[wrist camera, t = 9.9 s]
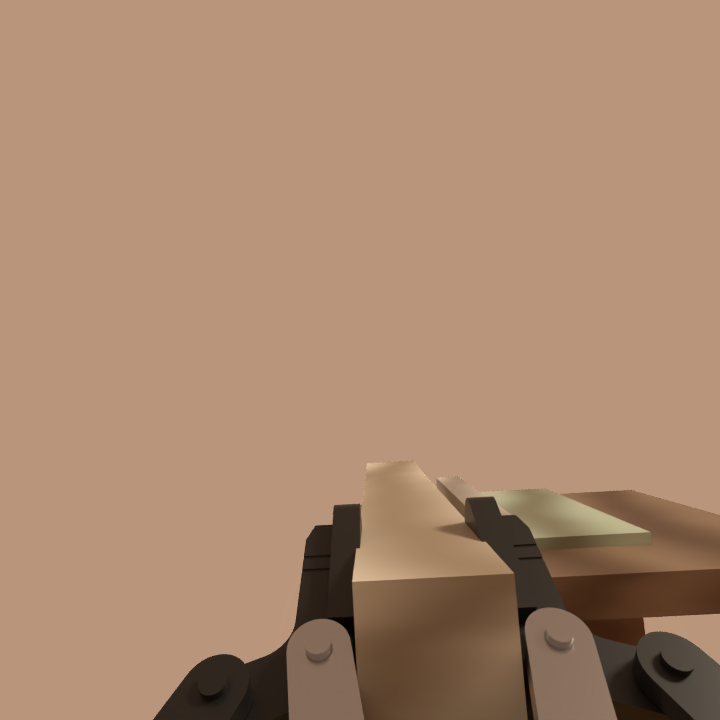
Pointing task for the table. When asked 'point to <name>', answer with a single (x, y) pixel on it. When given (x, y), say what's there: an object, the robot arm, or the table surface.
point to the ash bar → (431, 608)
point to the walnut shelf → (616, 553)
